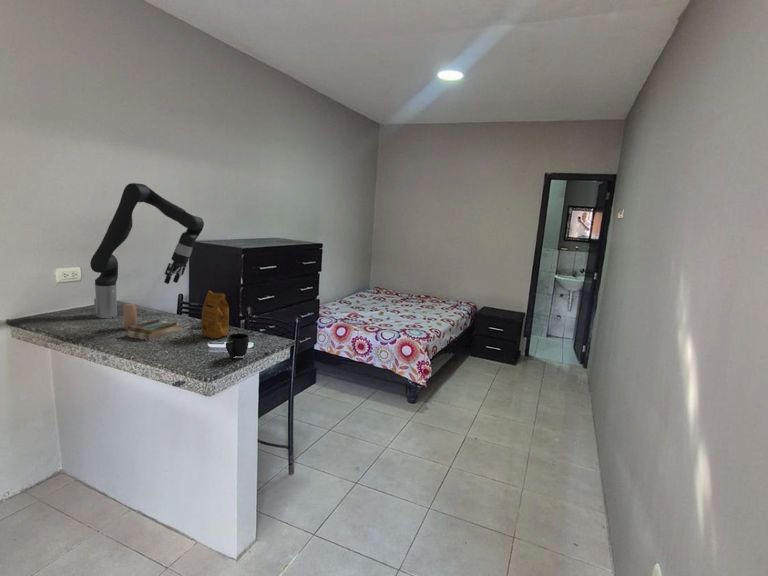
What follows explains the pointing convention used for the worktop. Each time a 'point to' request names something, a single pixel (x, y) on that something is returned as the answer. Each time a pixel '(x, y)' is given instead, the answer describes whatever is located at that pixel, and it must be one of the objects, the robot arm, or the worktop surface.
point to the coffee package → (215, 316)
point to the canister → (130, 315)
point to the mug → (237, 344)
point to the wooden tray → (152, 329)
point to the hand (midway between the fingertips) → (170, 282)
